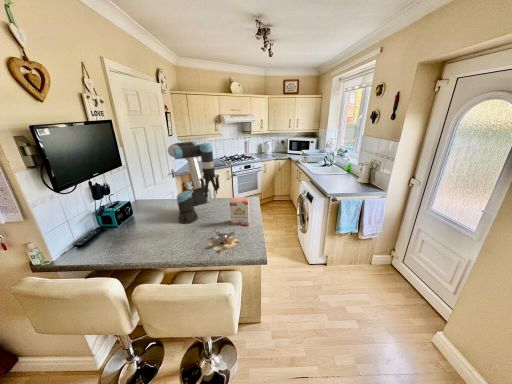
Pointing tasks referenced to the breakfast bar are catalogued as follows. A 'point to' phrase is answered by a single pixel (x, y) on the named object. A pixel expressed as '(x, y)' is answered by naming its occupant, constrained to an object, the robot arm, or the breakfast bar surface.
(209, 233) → the breakfast bar surface
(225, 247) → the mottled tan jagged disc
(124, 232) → the breakfast bar surface
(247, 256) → the breakfast bar surface
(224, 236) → the capstan
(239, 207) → the cracker box
